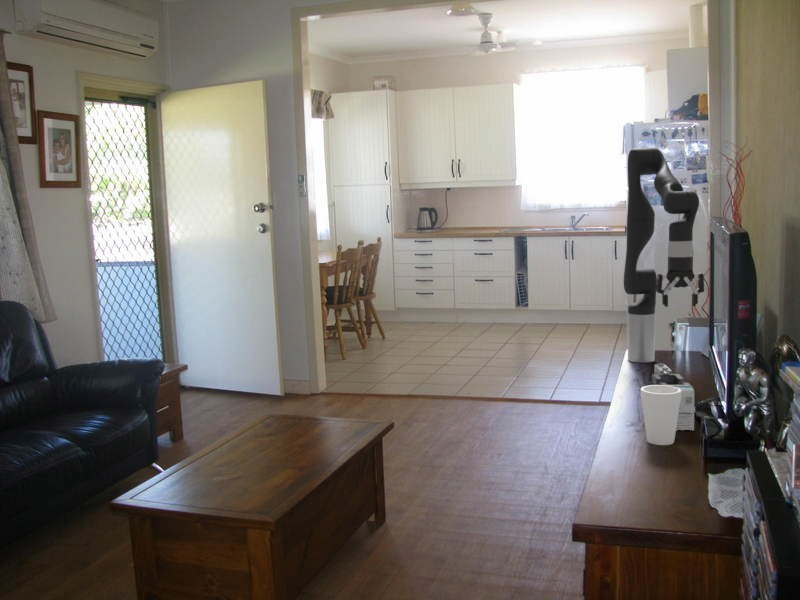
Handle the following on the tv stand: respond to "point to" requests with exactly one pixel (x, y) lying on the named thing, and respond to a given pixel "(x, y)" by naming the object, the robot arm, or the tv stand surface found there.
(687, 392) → the light bulb box
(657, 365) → the bolted link plate
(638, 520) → the tv stand surface
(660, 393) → the foam cup
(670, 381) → the end link
